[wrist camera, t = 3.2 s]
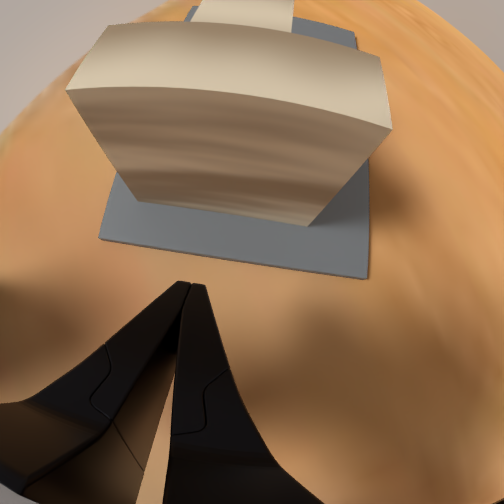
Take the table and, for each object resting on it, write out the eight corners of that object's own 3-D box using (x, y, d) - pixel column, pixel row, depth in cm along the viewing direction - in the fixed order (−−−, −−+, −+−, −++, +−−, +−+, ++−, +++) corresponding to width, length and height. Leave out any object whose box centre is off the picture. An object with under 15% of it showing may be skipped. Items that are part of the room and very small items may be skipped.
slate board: (362, 279, 17) (366, 278, 17) (101, 240, 17) (98, 237, 16) (352, 36, 23) (353, 32, 22) (193, 10, 22) (193, 5, 21)
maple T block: (307, 227, 17) (392, 129, 7) (137, 201, 17) (65, 89, 7) (314, 108, 19) (362, -4, 9) (175, 88, 19) (157, -30, 9)
